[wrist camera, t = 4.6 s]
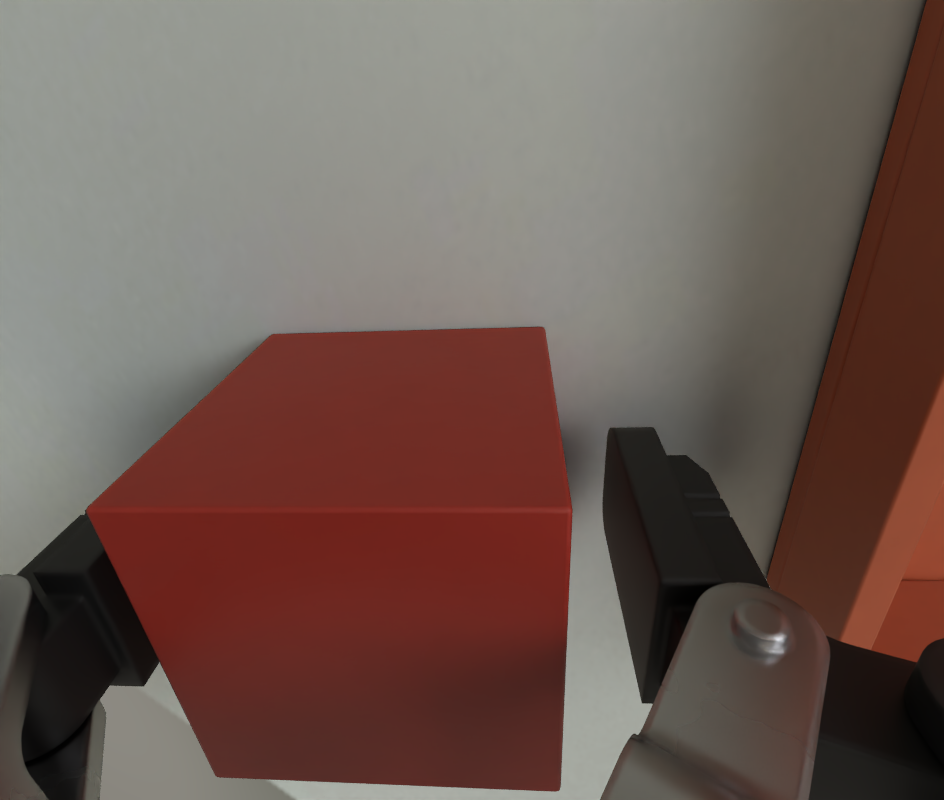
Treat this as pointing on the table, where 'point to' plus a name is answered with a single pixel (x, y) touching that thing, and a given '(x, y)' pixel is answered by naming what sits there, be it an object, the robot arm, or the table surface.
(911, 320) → the terracotta tray
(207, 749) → the red block
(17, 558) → the table surface
